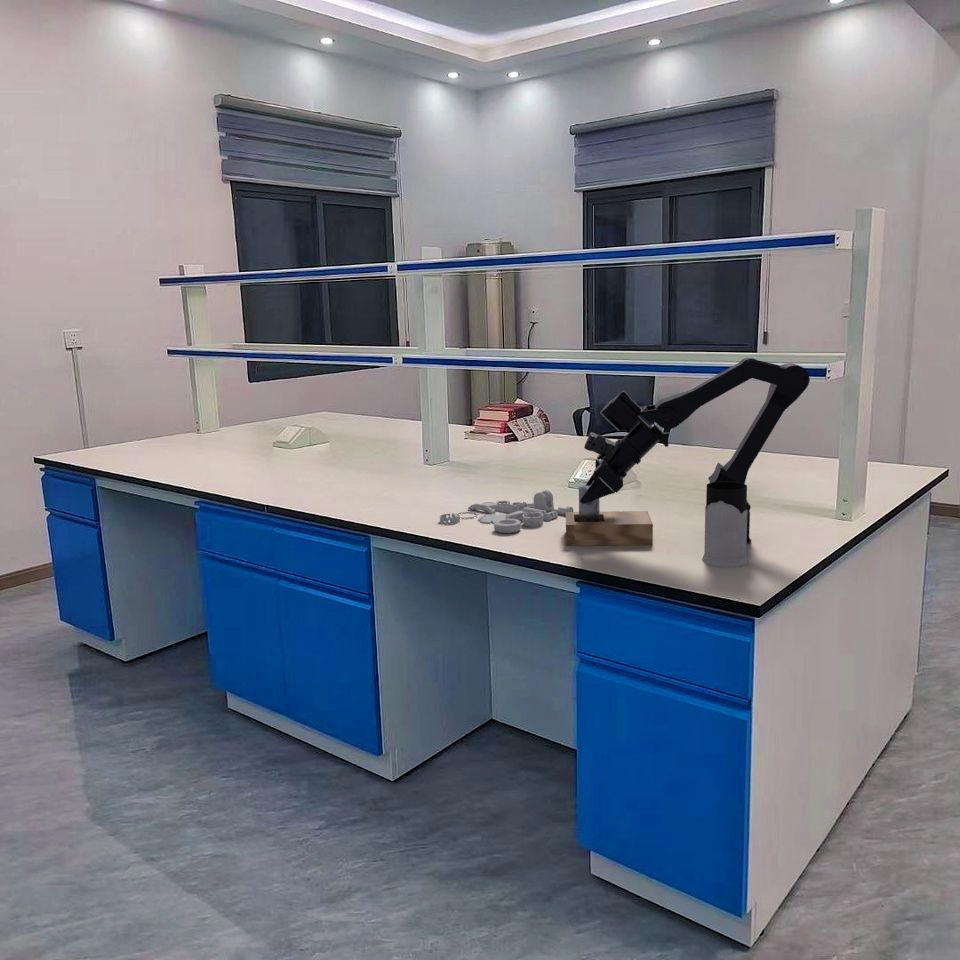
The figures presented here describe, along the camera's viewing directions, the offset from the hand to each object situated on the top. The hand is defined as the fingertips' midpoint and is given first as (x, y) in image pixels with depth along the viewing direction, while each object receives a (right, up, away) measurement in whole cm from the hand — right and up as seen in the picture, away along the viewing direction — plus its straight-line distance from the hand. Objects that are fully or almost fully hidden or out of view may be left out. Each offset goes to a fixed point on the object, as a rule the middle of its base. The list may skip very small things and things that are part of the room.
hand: (582, 497), depth 186 cm
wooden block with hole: (+6, -9, +1) cm, 11 cm away
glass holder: (+27, -12, -15) cm, 33 cm away
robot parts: (-16, -6, +22) cm, 28 cm away
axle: (+2, -8, +1) cm, 8 cm away
